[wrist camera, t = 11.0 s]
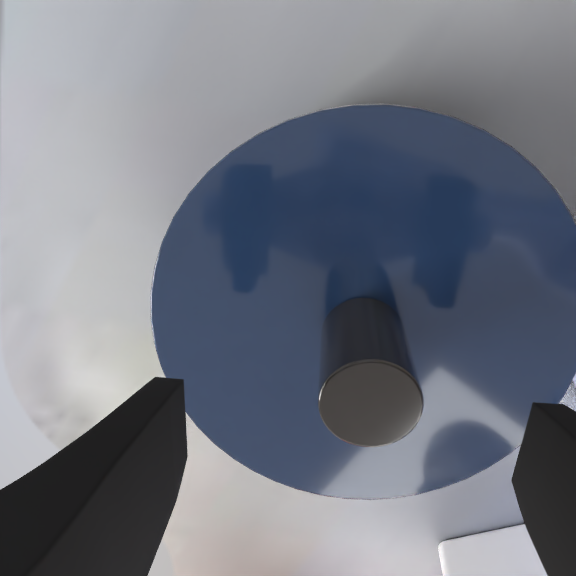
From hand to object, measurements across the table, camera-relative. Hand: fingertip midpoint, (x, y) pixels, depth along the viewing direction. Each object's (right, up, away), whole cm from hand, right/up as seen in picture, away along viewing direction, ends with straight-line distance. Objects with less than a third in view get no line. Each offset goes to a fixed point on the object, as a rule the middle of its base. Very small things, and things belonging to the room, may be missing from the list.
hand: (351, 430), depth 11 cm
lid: (+1, +2, +5) cm, 5 cm away
